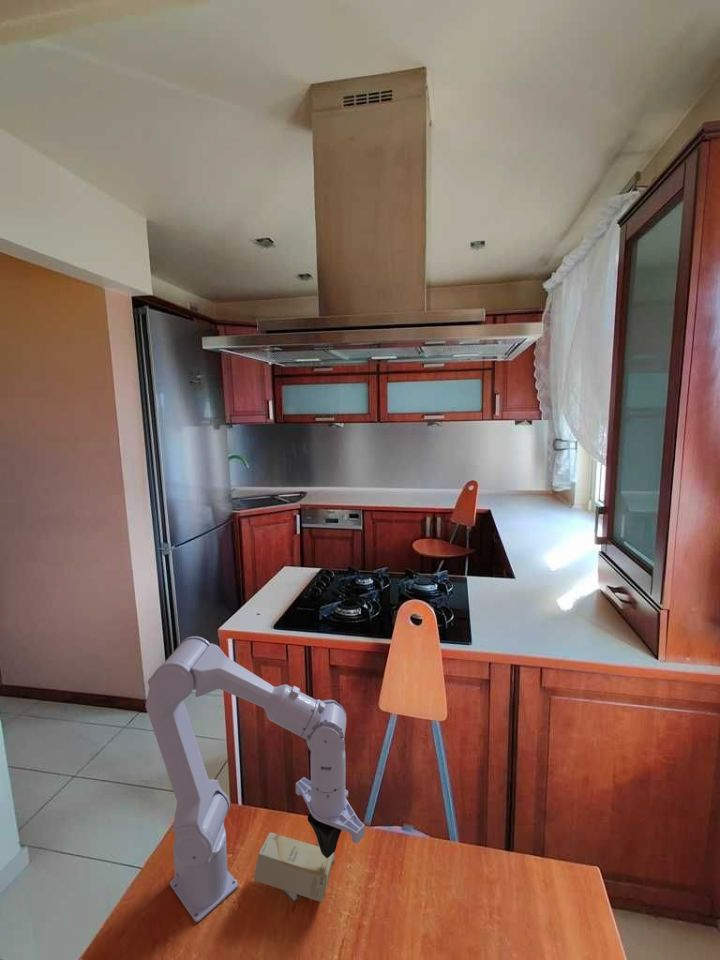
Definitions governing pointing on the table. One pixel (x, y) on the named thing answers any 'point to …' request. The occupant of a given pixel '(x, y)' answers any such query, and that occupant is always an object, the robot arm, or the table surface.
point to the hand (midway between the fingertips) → (328, 852)
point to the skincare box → (293, 866)
